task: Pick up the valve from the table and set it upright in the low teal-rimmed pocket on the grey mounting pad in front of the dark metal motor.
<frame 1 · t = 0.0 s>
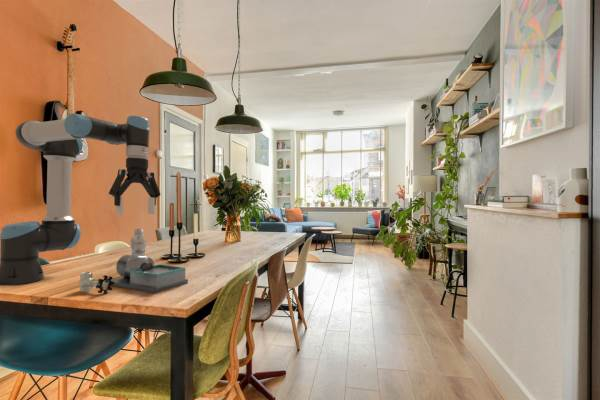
hand: (136, 214, 121), 28 cm above the table, tool pointing down, fingers open, 13 cm apart
motor stand: (147, 283, 128), on the table
valve: (93, 292, 116), on the table
plastic bottle: (138, 273, 146), on the table
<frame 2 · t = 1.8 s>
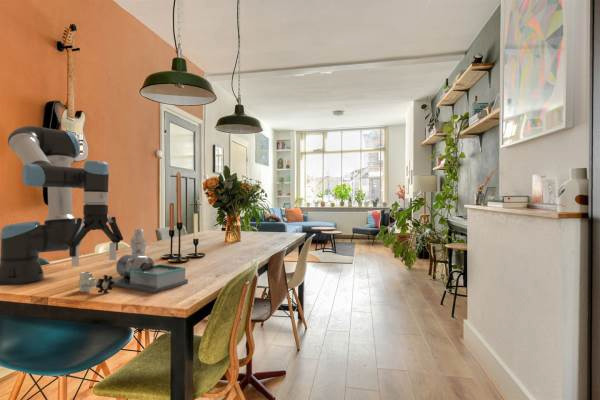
hand: (95, 262, 116), 10 cm above the table, tool pointing down, fingers open, 13 cm apart
nothing on the table moved.
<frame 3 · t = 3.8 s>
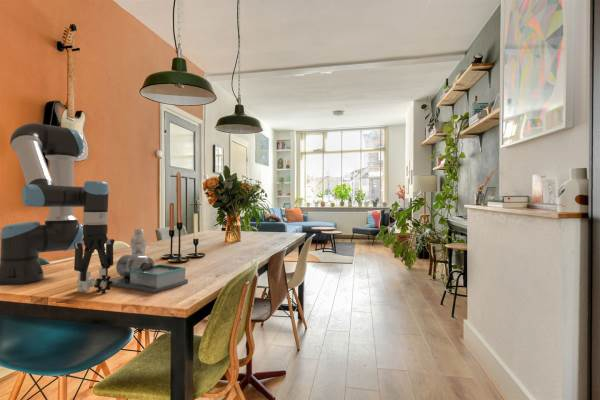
hand: (94, 287, 116), 1 cm above the table, tool pointing down, fingers closed on valve, 5 cm apart
valve: (91, 292, 116), on the table, touching gripper
everything else where it was.
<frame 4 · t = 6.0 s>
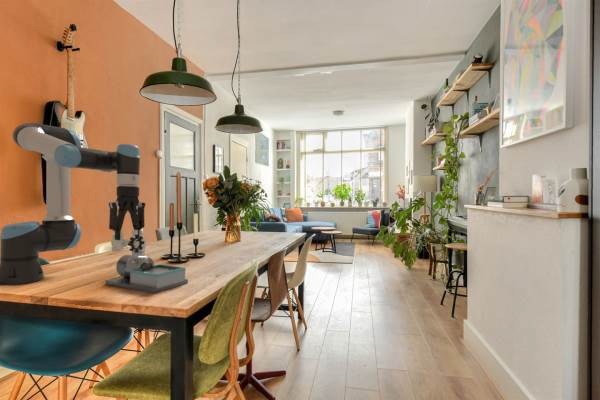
hand: (127, 247, 120), 15 cm above the table, tool pointing down, fingers closed on valve, 5 cm apart
valve: (125, 252, 120), point 14 cm above the table, touching gripper
everything else where it was.
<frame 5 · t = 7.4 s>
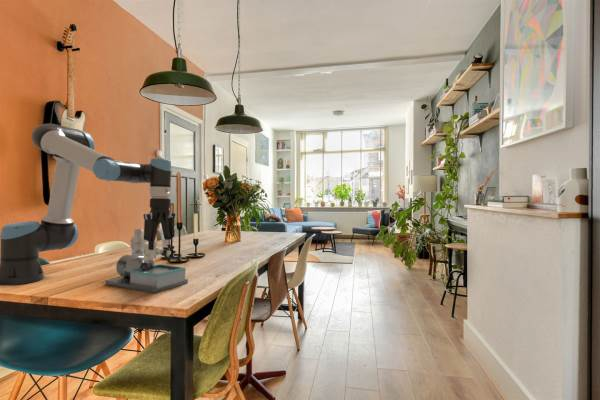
hand: (159, 256, 126), 11 cm above the table, tool pointing down, fingers closed on valve, 5 cm apart
valve: (157, 260, 126), point 10 cm above the table, touching gripper
everything else where it was.
when the fingers open (9 cm above the table, at t = 8.6 s): valve stays where it is, resting on motor stand.
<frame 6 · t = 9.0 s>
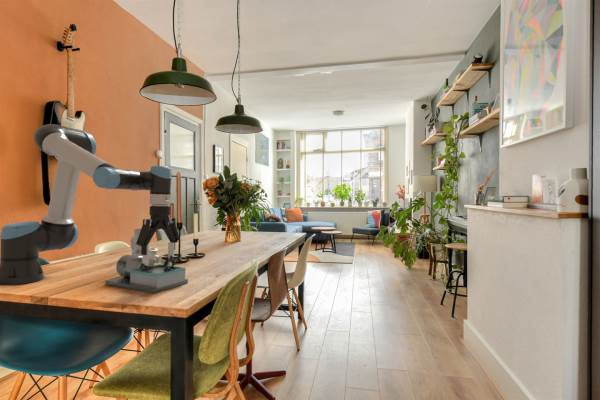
hand: (158, 260, 126), 10 cm above the table, tool pointing down, fingers open, 11 cm apart
valve: (156, 268, 126), point 7 cm above the table, touching motor stand
everything else where it was.
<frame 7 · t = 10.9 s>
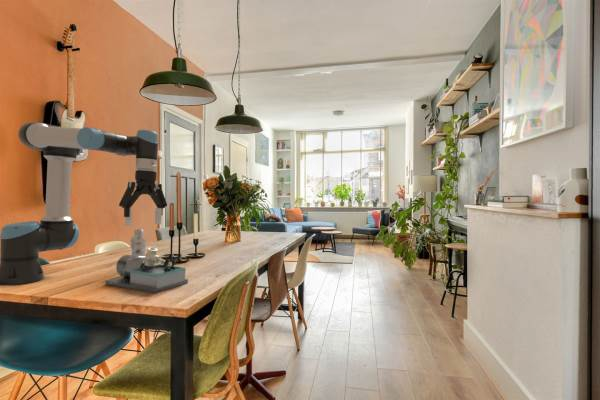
hand: (143, 225, 125), 24 cm above the table, tool pointing down, fingers open, 13 cm apart
nothing on the table moved.
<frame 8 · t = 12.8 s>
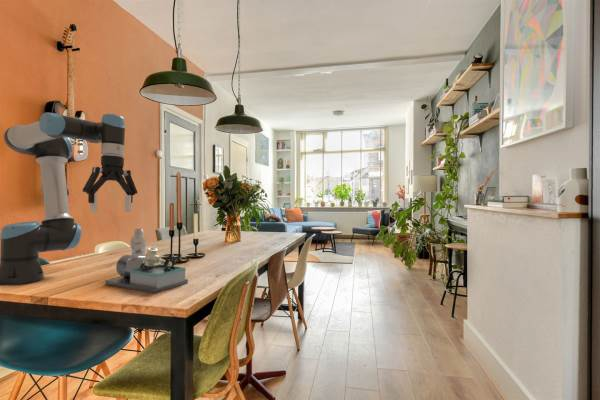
hand: (111, 212, 121), 29 cm above the table, tool pointing down, fingers open, 13 cm apart
nothing on the table moved.
at the end: valve 0.7 cm from the target spot on the motor stand, point 6.7 cm above the motor stand's base; valve touching motor stand; valve tilted 13° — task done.
